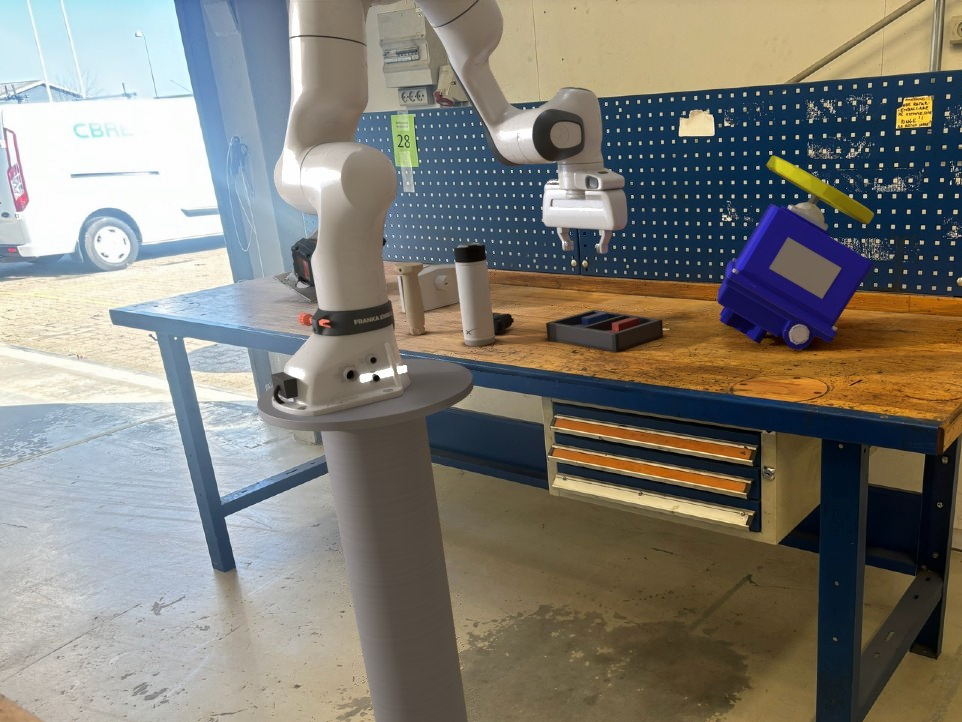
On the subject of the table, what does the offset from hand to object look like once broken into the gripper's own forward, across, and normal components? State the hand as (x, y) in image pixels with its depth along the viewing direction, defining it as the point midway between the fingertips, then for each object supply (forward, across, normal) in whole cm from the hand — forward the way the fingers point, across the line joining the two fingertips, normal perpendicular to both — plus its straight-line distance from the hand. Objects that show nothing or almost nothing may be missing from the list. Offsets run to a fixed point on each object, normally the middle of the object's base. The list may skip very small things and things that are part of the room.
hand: (585, 251), depth 169 cm
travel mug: (+17, -16, -16) cm, 28 cm away
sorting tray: (+17, +4, 0) cm, 17 cm away
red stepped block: (+16, +9, 0) cm, 18 cm away
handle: (+18, -34, -18) cm, 43 cm away
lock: (+17, -55, +3) cm, 58 cm away
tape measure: (+17, -20, -8) cm, 27 cm away
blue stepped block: (+16, 0, 0) cm, 16 cm away
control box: (+17, +34, +22) cm, 44 cm away
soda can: (+17, -64, +22) cm, 70 cm away
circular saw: (+17, -96, -1) cm, 97 cm away
